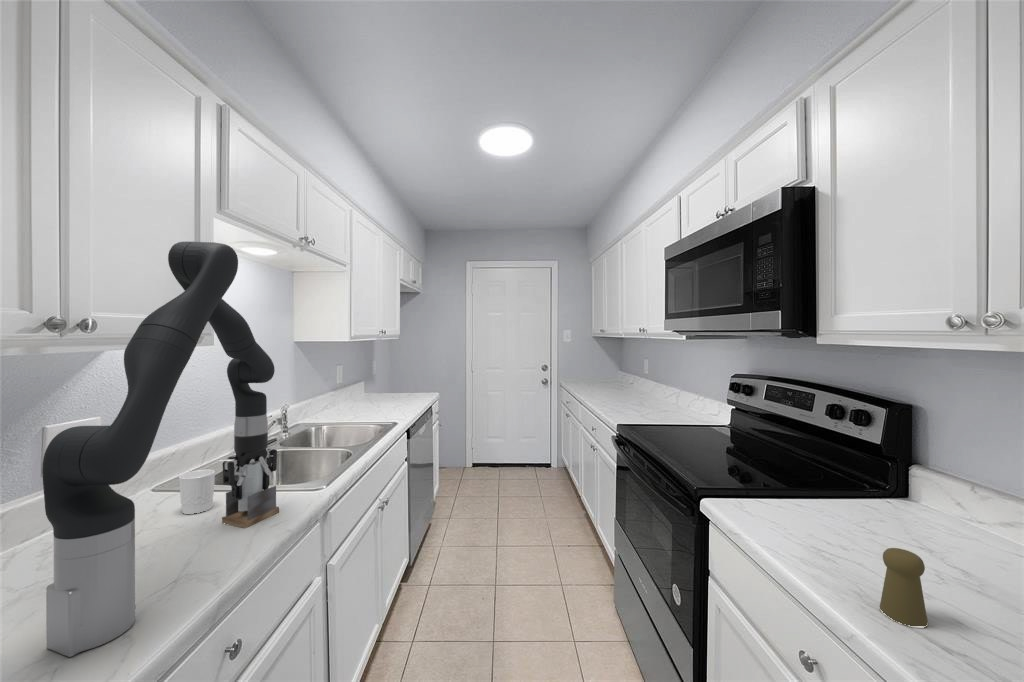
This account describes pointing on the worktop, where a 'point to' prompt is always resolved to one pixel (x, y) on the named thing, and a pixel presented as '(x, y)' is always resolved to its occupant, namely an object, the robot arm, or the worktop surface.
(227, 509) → the brown gray open holder
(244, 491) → the skincare box
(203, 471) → the white cup
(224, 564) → the worktop surface
